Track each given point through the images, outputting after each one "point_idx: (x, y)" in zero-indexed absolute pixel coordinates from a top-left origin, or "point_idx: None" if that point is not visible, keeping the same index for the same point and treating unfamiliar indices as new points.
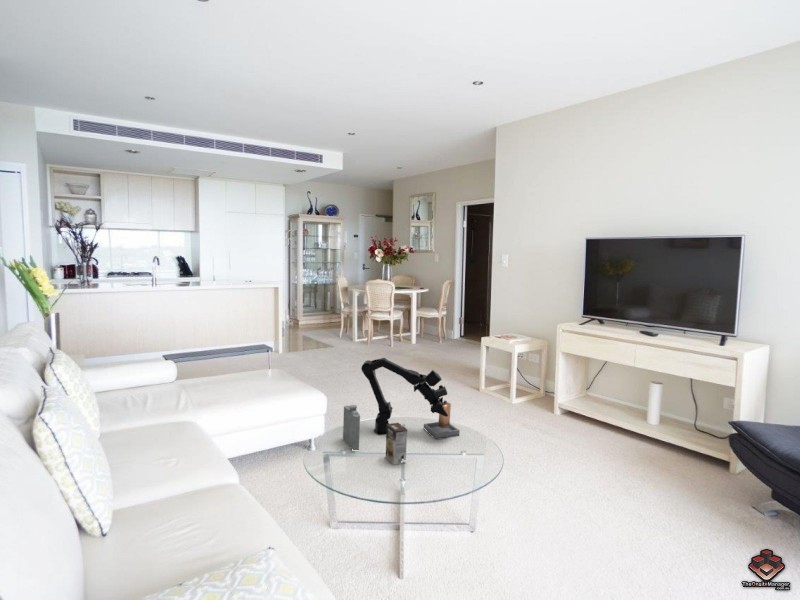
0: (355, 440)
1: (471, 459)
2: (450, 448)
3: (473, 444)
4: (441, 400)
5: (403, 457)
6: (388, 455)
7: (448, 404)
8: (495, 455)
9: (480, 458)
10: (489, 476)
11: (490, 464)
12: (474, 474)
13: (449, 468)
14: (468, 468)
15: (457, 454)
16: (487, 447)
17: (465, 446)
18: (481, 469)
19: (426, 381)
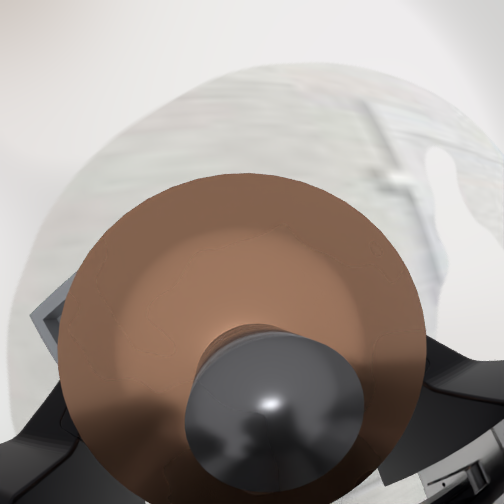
0: None
1: (425, 152)
2: None
3: (279, 129)
4: (58, 499)
5: None
6: None
7: (280, 251)
8: (349, 67)
9: (401, 119)
10: (472, 121)
11: (420, 98)
12: (486, 158)
13: (496, 234)
14: (474, 171)
15: (416, 208)
16: (288, 78)
17: (321, 168)
18: (458, 132)
19: None
